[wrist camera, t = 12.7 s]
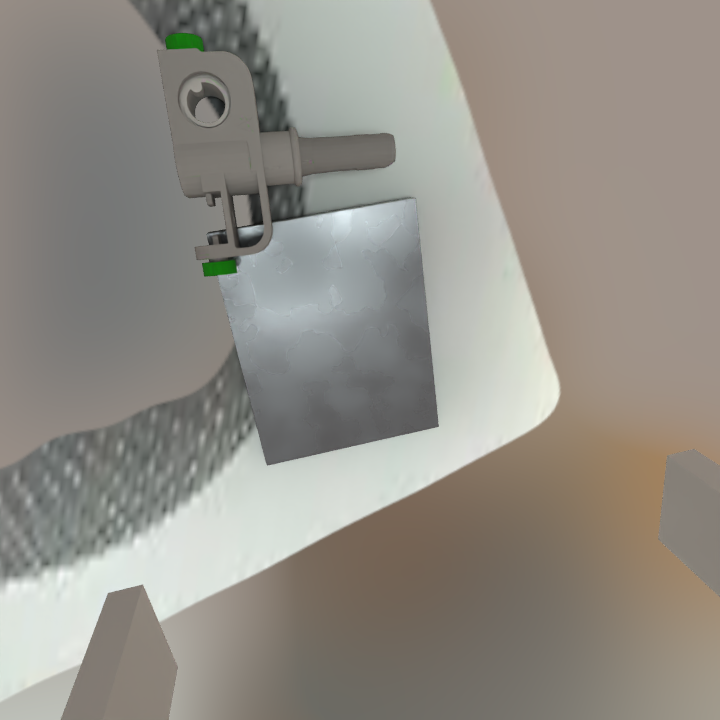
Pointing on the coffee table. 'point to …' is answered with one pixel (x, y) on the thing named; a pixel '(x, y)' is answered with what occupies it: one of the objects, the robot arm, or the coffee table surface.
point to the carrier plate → (333, 329)
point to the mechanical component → (243, 143)
